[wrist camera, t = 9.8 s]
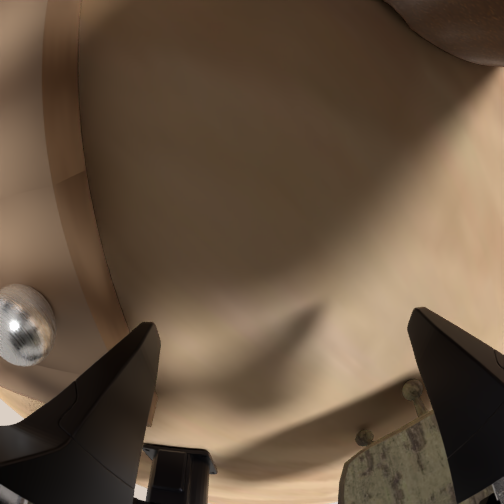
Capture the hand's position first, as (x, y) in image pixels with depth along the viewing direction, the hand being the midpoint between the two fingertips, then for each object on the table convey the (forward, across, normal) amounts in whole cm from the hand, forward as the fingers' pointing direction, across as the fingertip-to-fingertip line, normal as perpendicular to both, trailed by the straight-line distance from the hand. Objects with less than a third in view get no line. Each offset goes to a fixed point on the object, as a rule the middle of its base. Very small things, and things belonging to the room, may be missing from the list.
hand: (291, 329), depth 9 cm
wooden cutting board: (+4, +21, -1) cm, 21 cm away
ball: (0, +11, 0) cm, 11 cm away
